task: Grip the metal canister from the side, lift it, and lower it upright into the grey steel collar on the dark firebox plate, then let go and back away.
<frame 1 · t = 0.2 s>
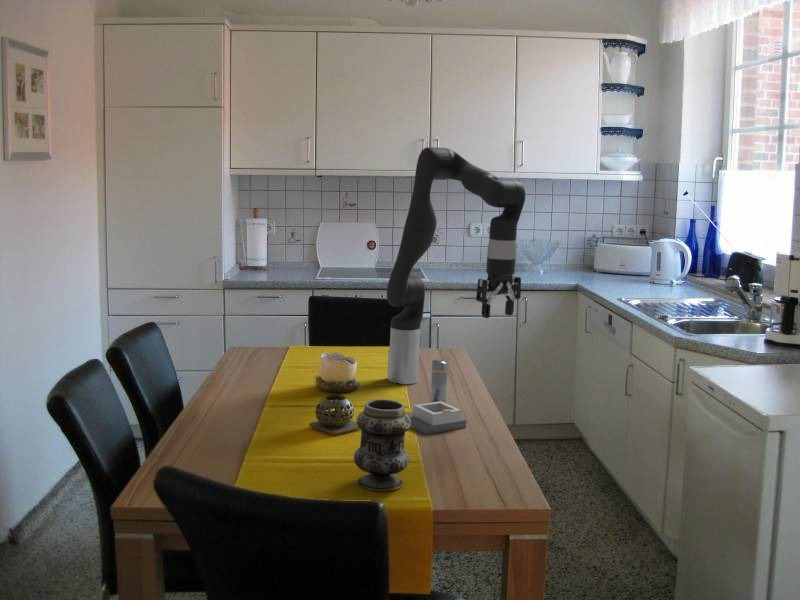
hand: (497, 316, 237), 29 cm above the table, tool pointing down, fingers open, 8 cm apart
apothecary jar: (380, 484, 193), on the table
metal canister: (437, 409, 250), on the table
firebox: (434, 424, 236), on the table
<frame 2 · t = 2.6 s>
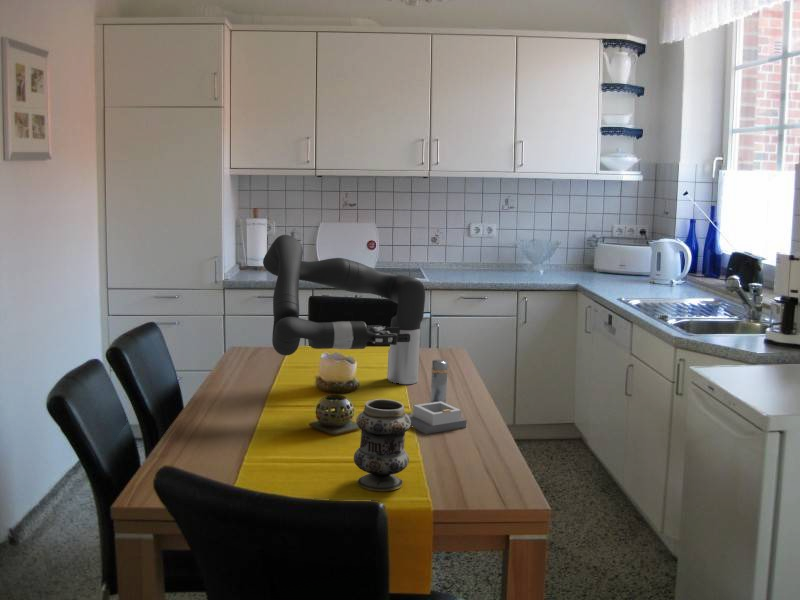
hand: (404, 334, 242), 22 cm above the table, tool horizontal, fingers open, 8 cm apart
nothing on the table moved.
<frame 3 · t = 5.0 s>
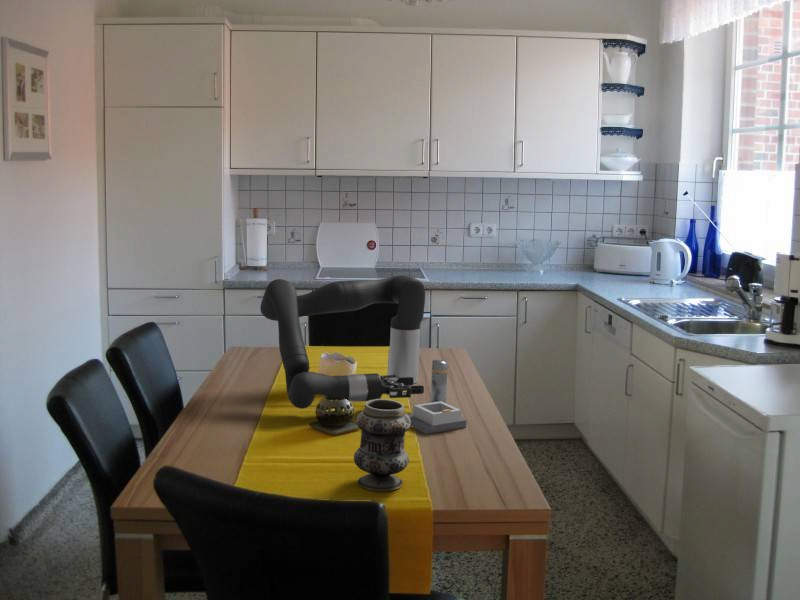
hand: (418, 385, 246), 7 cm above the table, tool horizontal, fingers open, 8 cm apart
nothing on the table moved.
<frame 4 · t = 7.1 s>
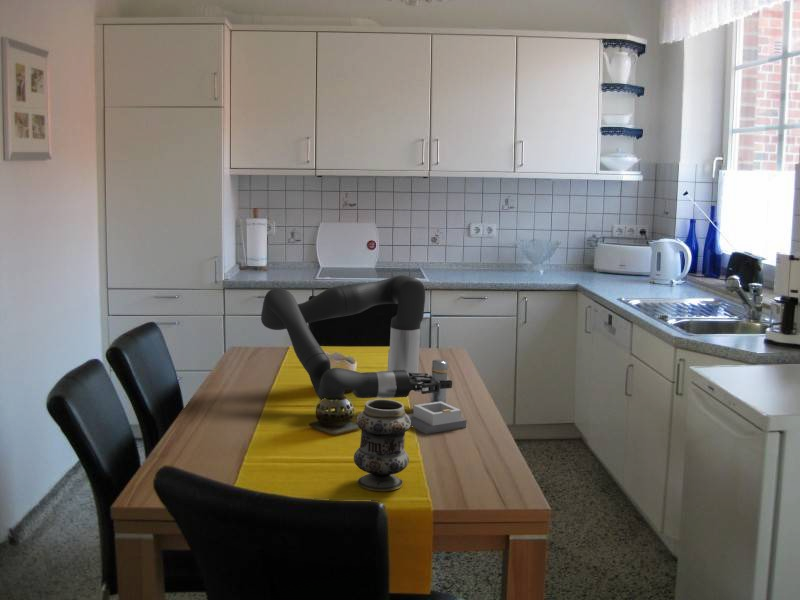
hand: (448, 381, 249), 8 cm above the table, tool horizontal, fingers closed on metal canister, 4 cm apart
metal canister: (437, 409, 250), on the table, touching gripper
everything else where it was.
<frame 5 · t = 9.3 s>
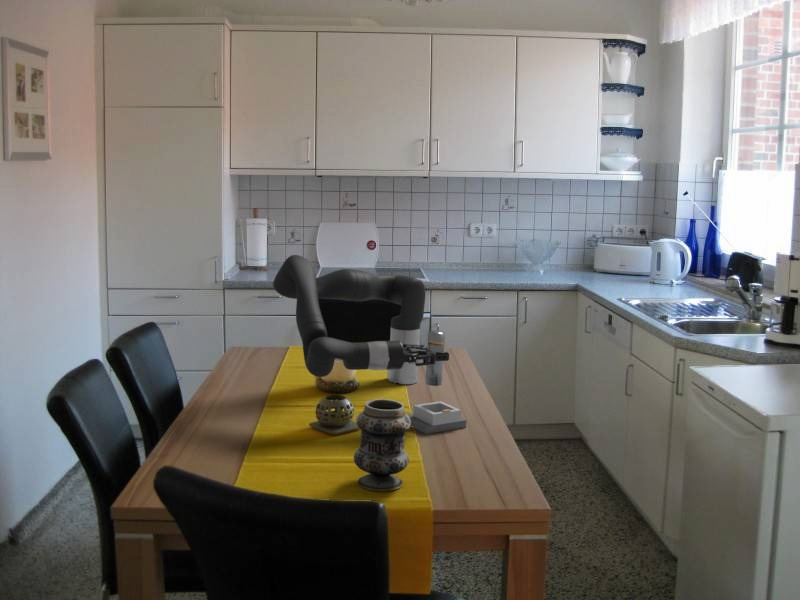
hand: (445, 353, 234), 19 cm above the table, tool horizontal, fingers closed on metal canister, 4 cm apart
metal canister: (433, 383, 235), point 11 cm above the table, touching gripper
everything else where it was.
when the fingers open (11 cm above the table, at t = 11.5 s): metal canister drops 1 cm, resting on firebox.
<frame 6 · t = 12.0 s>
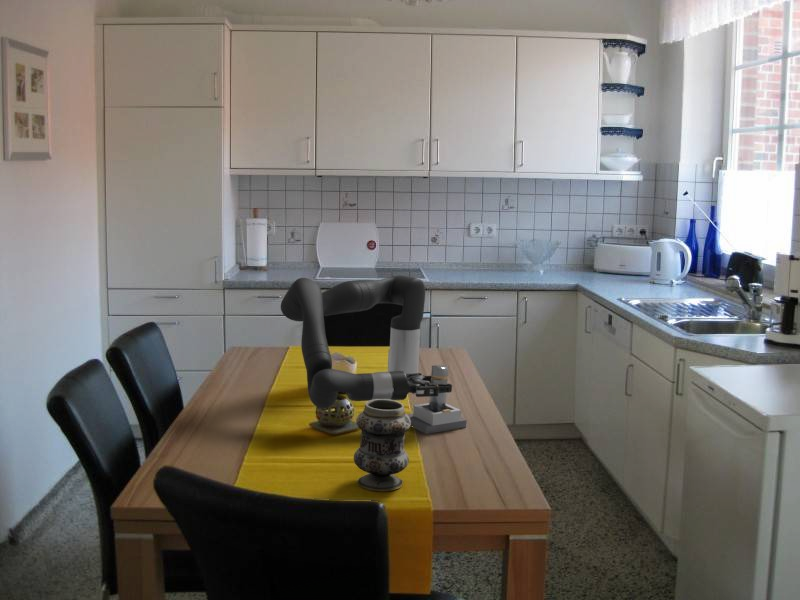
hand: (445, 383, 234), 12 cm above the table, tool horizontal, fingers open, 8 cm apart
metal canister: (436, 418, 235), point 2 cm above the table, touching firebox
everything else where it was.
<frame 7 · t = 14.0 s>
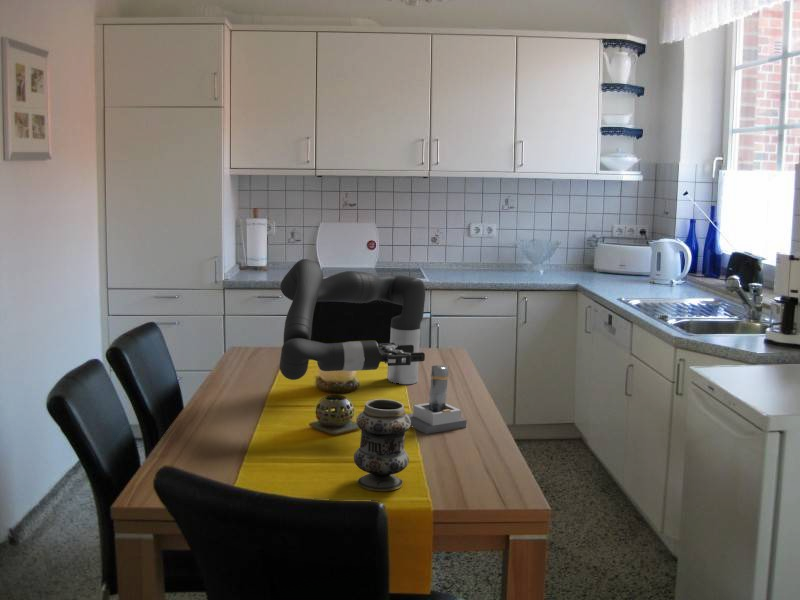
hand: (418, 352, 229), 20 cm above the table, tool horizontal, fingers open, 8 cm apart
nothing on the table moved.
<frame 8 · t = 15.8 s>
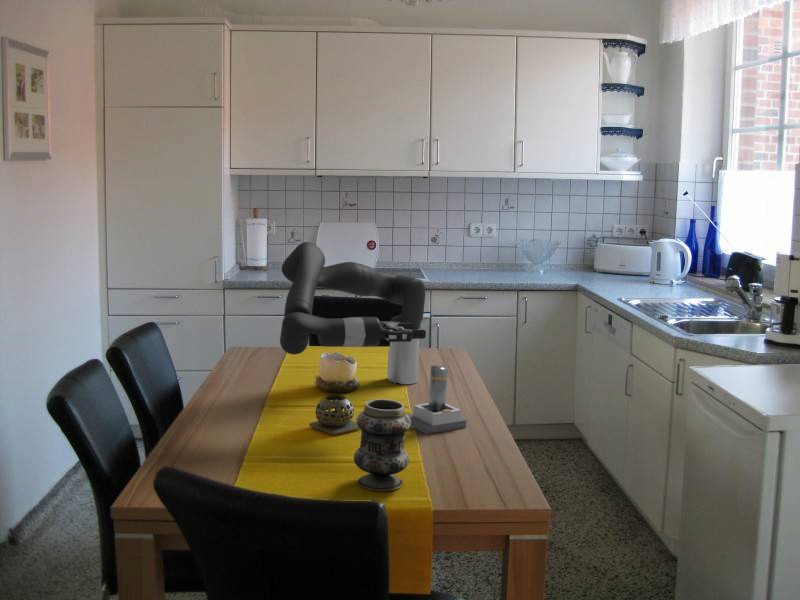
hand: (419, 330, 229), 26 cm above the table, tool horizontal, fingers open, 8 cm apart
nothing on the table moved.
at the end: metal canister 0.1 cm from the target spot on the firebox, point 2.0 cm above the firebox's base; metal canister tilted 1°; the gripper is holding nothing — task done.
